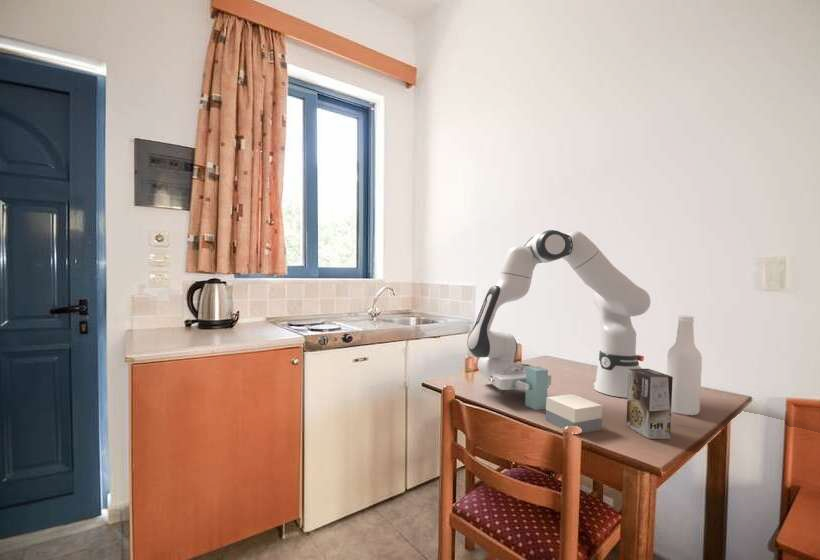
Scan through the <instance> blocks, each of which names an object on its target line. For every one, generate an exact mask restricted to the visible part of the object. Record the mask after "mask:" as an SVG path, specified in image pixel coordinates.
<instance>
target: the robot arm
mask: <svg viewBox="0 0 820 560" xmlns="http://www.w3.org/2000/svg"><path fill="white" fill-rule="evenodd" d="M560 259H564V260H565V261H566V262H567V264H568V265H569V266H570V267H571V269H572V270H574V272H575V273H576V274H577V276H578V277H579V278H580V279H581V280H582V281H583V283H584V284H585V285H586V286H587V287H589V288H591V289H592V290H593V291H594V295H593V300H594V303H595V306H596V307H597V311H598V316H599V317H598V318H599V323H600V329H601V331H600V332H601V336H600V337H601V338H600V340H601V341H600V350H599V353H598V361H599V363H598V365H597V370H596V376H595V381H594V382H593V386H594V387H593V388H594V390H595V391H597V392H598V393H601V394H603V395H604V394H605V395H606V396H607V395H609V396H612V397H618V398H625V399H627V390H628V369H643V368H642V367H641V366H640V363H639V361H640V362H644V361H645V357H644V355H641V354H640V355H639V354H636V351H637V349H636V348H637V331H636V330H635V328H634V326H633V323H632V319H631V317H638V316H642V315H643V314H645V313H647V311H648V310H649V309H650V306H651V297H650V295H649V293H648V291H646V290H645V289H643V288H642V287H640V286H639V285H637V284H636V283H635V282H633V281H632V280H631V279H630V278H629V277H628V276H626V275H625V274H623V273H622V272H621V271H620V270H619V269H618V268H616V267H615V266H614V265H613V264H612V263H611V262H610V260H609V259H608V258H607V257H606V255H605V254H604V253H603V252H602V251H601V249H600V248H599V247H597V245H596V244H595V243H594V242H593V241H592V240H590V238H588V237H587V236H586V234H584V233H583V232H581V231H579V230H574V231H570V232H567V233H564V232H561V231H559V230H555V229H554V230H553V229H548V230H546V231H545V230H544V231H541V232H539V233H537V234H535V235H533V236H532V237H531V238H529V240H527V242H526V243H525V244H524V245H515V246H512V247H510V248H509V249H508V251H507V253H506V256H505V258H504V261H503V262H502V263H503V264H502V267H501V271H500V276H499V278H498V280H497V282H496V283H495V284H494V285H493V286H491V287H490V288H489V289H488V291H487V293H486V295H485V297H484V300H483V302H482V305H481V308H480V311H479V313H478V316H477V318H476V321H475V324H474V325H473V327H472V329H471V331H470V333H469V335H468V338H467V342H466V345H467V348H468V351H469V352H470V353H471V355H472V356H473V357H474V358H479V359H478V361H477V370H478V371H479V373H480V374H481V375H482V376H483V377H484V378H486V379H487V380H488V381H490V382H492V386H494V387H496V388H497V389H498V390H502V391H510V390H519V389H522V390H524V391H526V390H531V389H532V388H531V387H532V385H531V384H529V383H526V369H527V367H534V365H531V364H525V363H524V364H522V363H517V362H515V360H516V357H517V354H518V343H517V340H516V338H515V337H514V336H513V334H510V333H506V332H503V331H502V332H500V331H493V330H491V327H492V324H493V321H494V319H495V316H496V313H497V311H498V309H499V308H500V307H501V306H502V305H504V304H507V303H510V302H515V301H519V300H520V299H522V298H525V296H526V295H527V294H528V293H529V291H530V288H531V284H532V279H533V273H534V271H535V268H536V266H537V264H542V263H544V264H546V263H550V262H553V261H557V260H560ZM551 384H552V375H551V374H550V373H549V372H548V382H547V389H549V387H550V386H551Z"/></svg>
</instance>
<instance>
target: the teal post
mask: <svg viewBox="0 0 820 560" xmlns="http://www.w3.org/2000/svg"><path fill="white" fill-rule="evenodd" d="M548 373H549V370H548V369H547V368H543V367H541V366H533V367H527V369H526V383H529V384H531V385H532V387H531V388H532V389H531V390H525V398H524V399H525V401H524V406H526V407H527V408H530V409H532V410H534V411H537V410H546V397H548V388H547V382H548Z"/></svg>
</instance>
